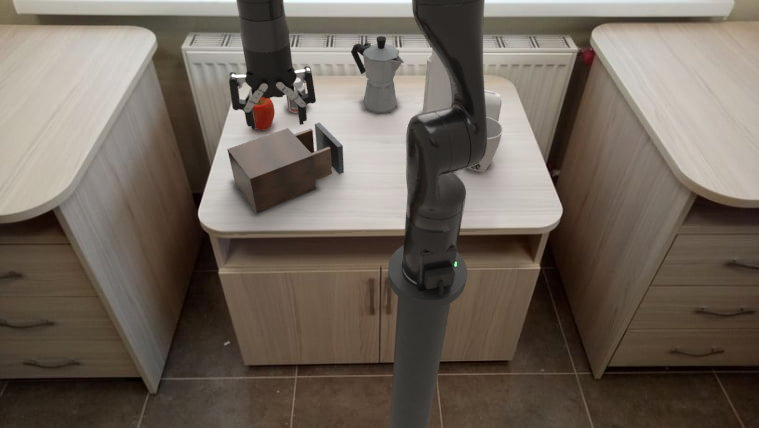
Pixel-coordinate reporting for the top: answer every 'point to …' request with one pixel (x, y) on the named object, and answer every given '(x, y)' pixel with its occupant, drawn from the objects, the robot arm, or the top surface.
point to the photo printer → (492, 104)
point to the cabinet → (272, 169)
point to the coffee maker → (378, 74)
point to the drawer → (323, 150)
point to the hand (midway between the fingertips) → (277, 124)
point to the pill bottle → (292, 104)
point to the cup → (490, 144)
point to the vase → (436, 85)
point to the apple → (263, 113)
